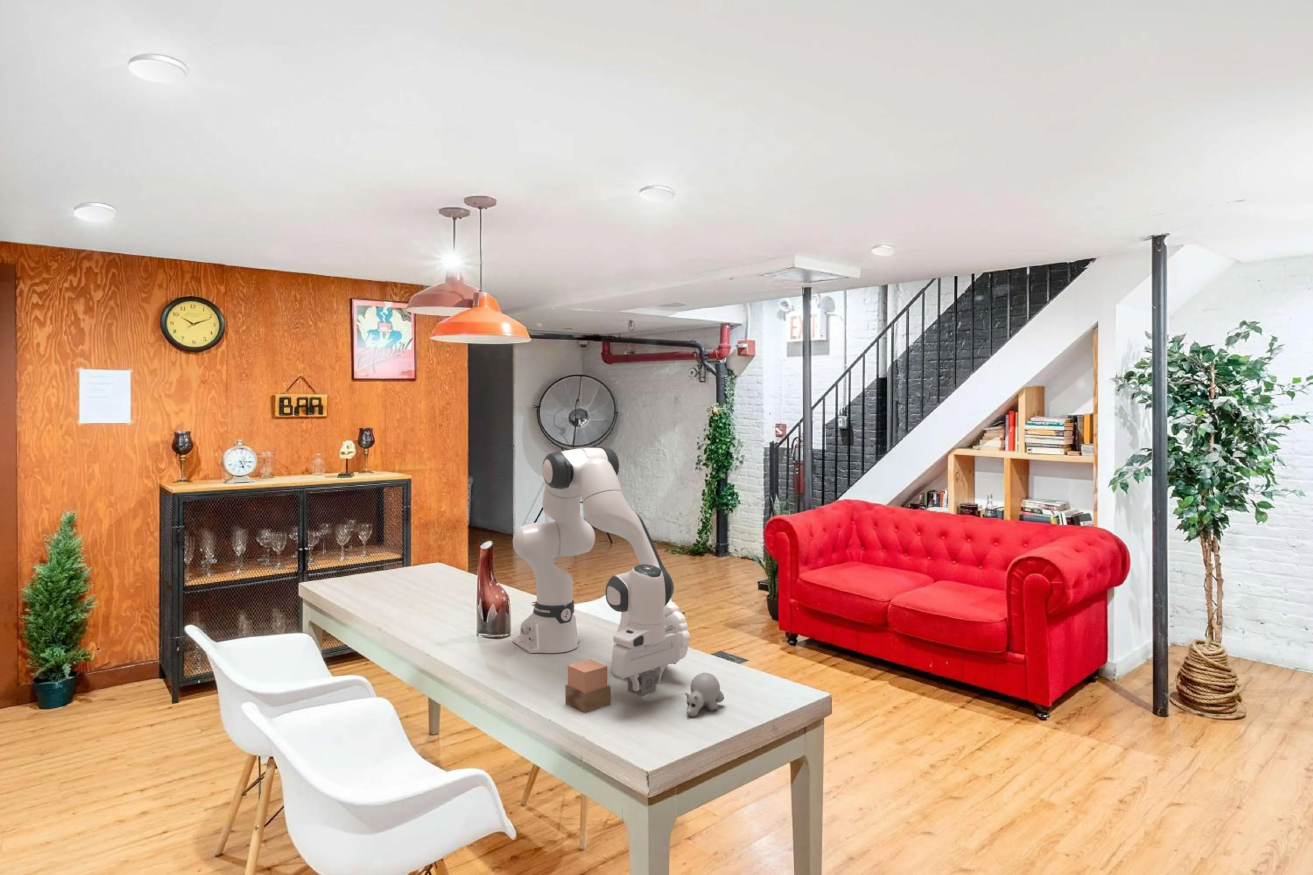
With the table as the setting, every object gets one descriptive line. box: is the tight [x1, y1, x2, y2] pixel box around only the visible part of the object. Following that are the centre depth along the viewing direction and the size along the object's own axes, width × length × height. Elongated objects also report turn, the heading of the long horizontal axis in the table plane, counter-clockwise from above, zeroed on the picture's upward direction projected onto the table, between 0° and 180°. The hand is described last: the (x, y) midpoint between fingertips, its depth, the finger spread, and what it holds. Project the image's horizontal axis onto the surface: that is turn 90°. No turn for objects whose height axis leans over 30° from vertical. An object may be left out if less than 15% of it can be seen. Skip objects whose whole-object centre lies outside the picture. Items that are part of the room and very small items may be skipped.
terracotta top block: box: [567, 659, 608, 693], centre depth 190 cm, size 7×7×5 cm
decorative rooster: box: [612, 601, 691, 671], centre depth 211 cm, size 25×16×25 cm, turn 35°
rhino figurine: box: [684, 672, 725, 718], centre depth 186 cm, size 7×12×8 cm, turn 140°
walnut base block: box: [564, 683, 612, 714], centre depth 190 cm, size 8×8×5 cm
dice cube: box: [627, 670, 657, 698], centre depth 191 cm, size 5×5×5 cm
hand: (646, 686), depth 189 cm, fingers closed on dice cube, 5 cm apart
